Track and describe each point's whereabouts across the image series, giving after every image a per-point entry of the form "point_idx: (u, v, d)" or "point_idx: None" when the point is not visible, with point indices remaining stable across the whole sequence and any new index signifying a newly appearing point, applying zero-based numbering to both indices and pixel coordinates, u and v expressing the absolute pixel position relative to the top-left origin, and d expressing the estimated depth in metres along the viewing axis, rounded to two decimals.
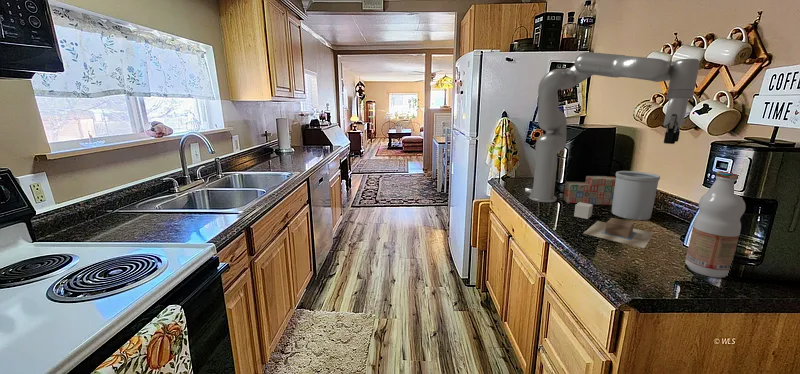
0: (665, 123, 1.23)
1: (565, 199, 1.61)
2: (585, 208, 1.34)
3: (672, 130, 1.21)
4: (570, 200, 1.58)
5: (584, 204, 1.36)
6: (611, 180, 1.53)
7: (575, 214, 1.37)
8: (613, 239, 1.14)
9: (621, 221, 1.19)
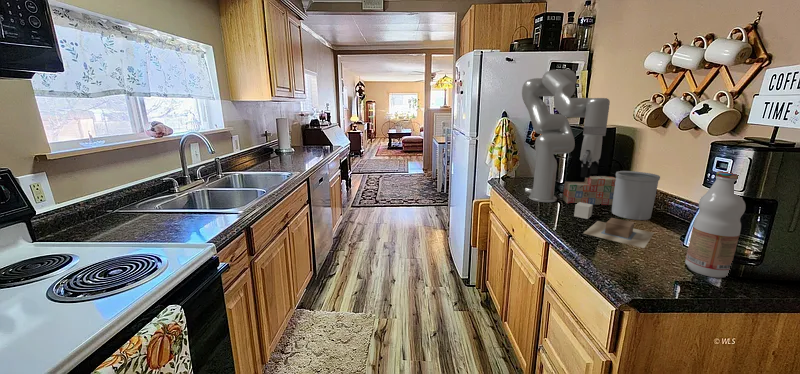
0: (581, 158, 1.29)
1: (564, 199, 1.61)
2: (585, 208, 1.34)
3: (586, 165, 1.27)
4: (569, 200, 1.58)
5: (584, 204, 1.36)
6: (610, 180, 1.53)
7: (575, 214, 1.37)
8: (613, 239, 1.14)
9: (621, 221, 1.19)
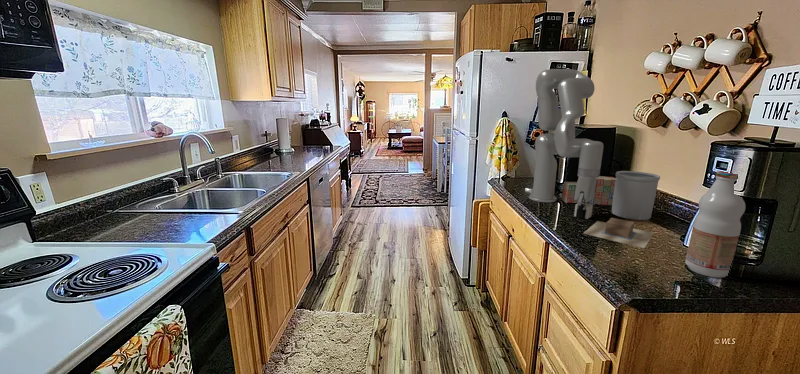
0: (575, 198, 1.33)
1: (563, 199, 1.61)
2: (585, 208, 1.34)
3: (581, 207, 1.33)
4: (568, 200, 1.58)
5: None
6: (609, 180, 1.53)
7: (575, 214, 1.37)
8: (613, 239, 1.14)
9: (621, 221, 1.19)
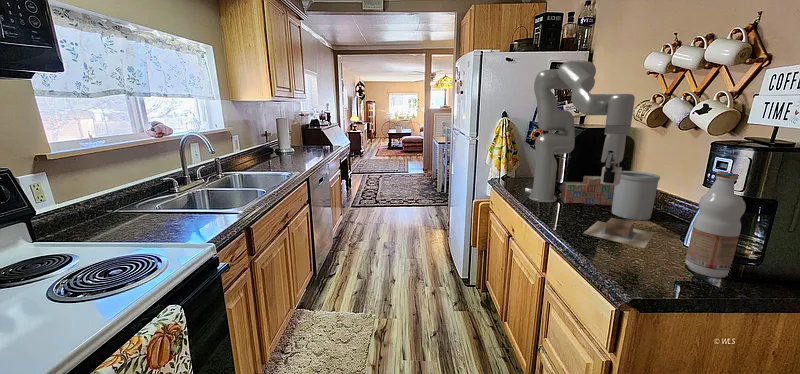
0: (602, 159, 1.18)
1: (562, 199, 1.61)
2: (614, 170, 1.19)
3: (610, 170, 1.18)
4: (567, 200, 1.58)
5: None
6: None
7: (602, 178, 1.22)
8: (613, 239, 1.14)
9: (621, 221, 1.19)
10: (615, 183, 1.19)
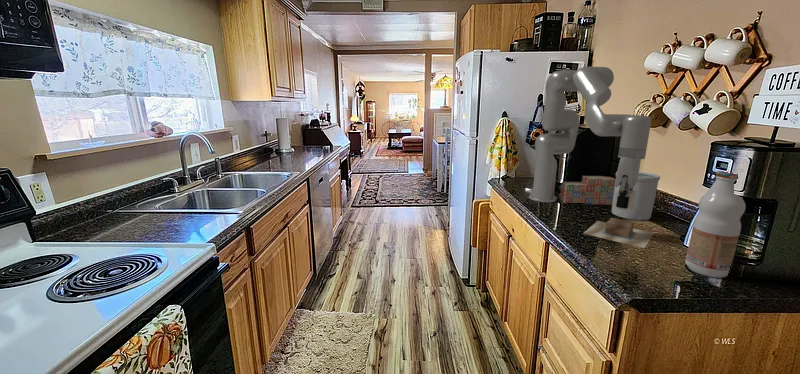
0: (616, 184, 1.13)
1: (562, 199, 1.61)
2: (628, 195, 1.13)
3: (624, 194, 1.12)
4: (567, 200, 1.58)
5: None
6: (607, 180, 1.54)
7: (615, 202, 1.16)
8: (613, 239, 1.14)
9: (621, 221, 1.19)
10: (629, 208, 1.14)
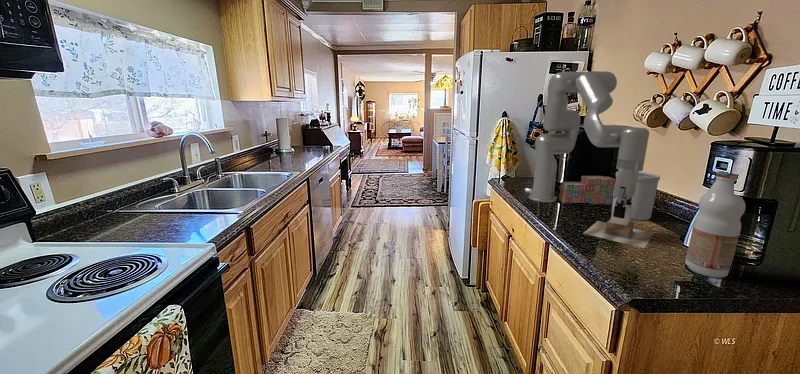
0: (614, 195, 1.14)
1: (561, 199, 1.61)
2: None
3: (621, 205, 1.12)
4: (566, 200, 1.58)
5: None
6: (606, 180, 1.54)
7: (612, 217, 1.18)
8: (613, 239, 1.14)
9: None
10: (626, 223, 1.15)
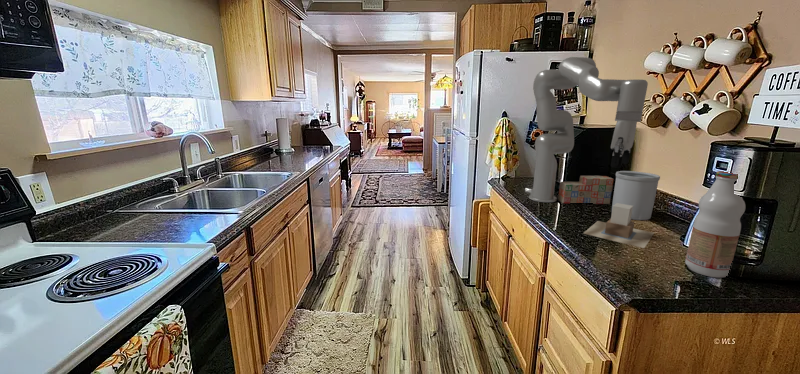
0: (612, 146, 1.18)
1: (560, 199, 1.61)
2: (625, 210, 1.15)
3: (618, 154, 1.16)
4: (565, 200, 1.58)
5: (623, 206, 1.17)
6: (605, 179, 1.55)
7: (612, 217, 1.18)
8: (613, 239, 1.14)
9: None
10: (626, 223, 1.15)
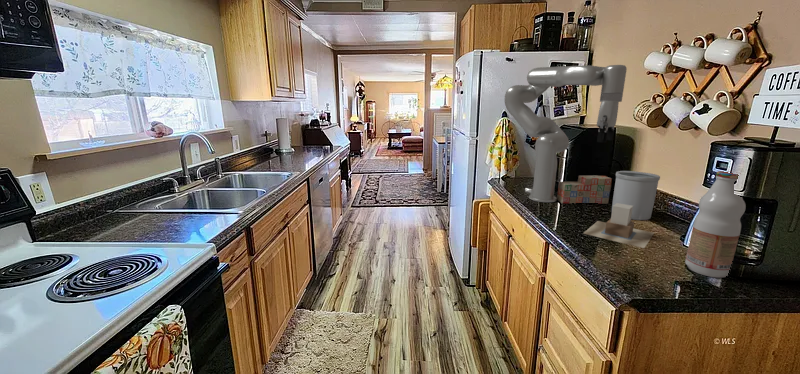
0: (598, 123, 1.35)
1: (559, 199, 1.61)
2: (625, 210, 1.15)
3: (603, 130, 1.33)
4: (564, 200, 1.58)
5: (623, 206, 1.17)
6: (603, 179, 1.55)
7: (612, 217, 1.18)
8: (613, 239, 1.14)
9: None
10: (626, 223, 1.15)
